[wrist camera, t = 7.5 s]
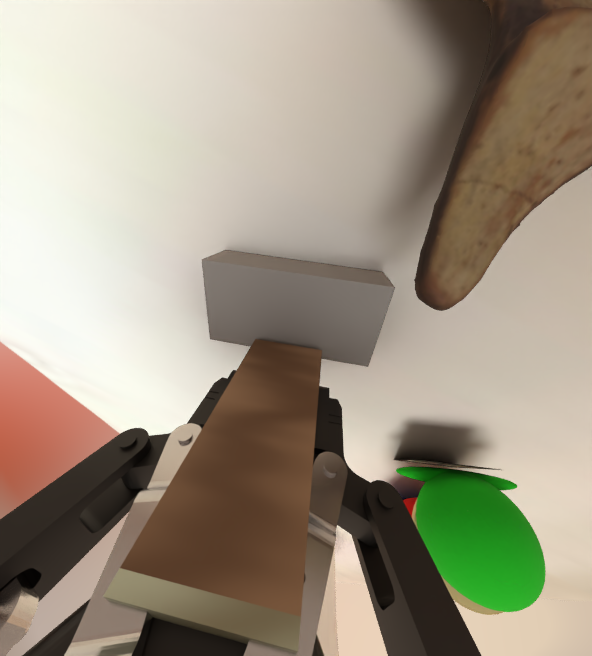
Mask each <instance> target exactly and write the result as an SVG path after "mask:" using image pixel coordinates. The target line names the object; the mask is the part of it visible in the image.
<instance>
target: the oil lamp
mask: <svg viewBox="0 0 592 656" xmlns="http://www.w3.org/2000/svg"><path fill="white" fill-rule="evenodd" d="M483 1H484V2H485V3H486V4H487V5H488V7H489V9H490V13H491V40H490V47H489V52H488V56H487V60H486V63H485V67H484V71H483V74H482V77H481V80H480V84H479V87H478V90H477V92H476V95H475V98H474V100H473V102H472V105H471V108H470V110H469V113H468V115H467V118H466V120H465V123H464V126H463V128H462V131H461V134H460V137H459V140H458V143H457V146H456V149H455V151H454V154H453V157H452V160H451V163H450V166H449V169H448V172H447V175H446V178H445V181H444V184H443V187H442V189H441V192H440V194H439V197H438V199H437V201H436V203H435V205H434V210H433V213H432V217H431V221H430V225H429V228H428V231H427V234H426V237H425V241H424V244H423V246H422V249H421V253H420V258H419V263H418V267H417V273H416V278H415V280H414V281H415V290H416V294H417V297H418V298H419V299H420V300H421V301H422V302H424V303H425V304H426V305H428V306H430V307H431V308H433V309H436V310H440V311H443V310H447V309H449V308H451V307H453V306H454V305H455V304H457V303H458V302H460V301H462V300H463V299H464V298H465V297H466V296H467V295H468V294H469V292H470V291H471V290H472V289H473V288H474V287H475V286H476V285H477V283H478V282H479V281H480V280H481V278H482V277H483V275H484V273H485V272H486V270H487V268H488V267H489V265H490V263H491V261H492V260H493V259H494V257H495V256H496V254H497V253H498V251H499V250H500V248H501V247H502V245H503V244H504V242H505V241H506V240H507V238H508V237H509V236H510V234H511V233H512V232H513V231H514V230H515V229H516V228H517V227H518V226H520V222H521V221H522V220H523V219H524V218H525V217H526V216H527V215H528V214H529V213H530V212H531V211H532V210H533V209H534V208H535V207H537V206H538V205H540V204H541V203H542V202H543V201H544V200H545V199H546V198H547V197H549V196H550V195H552V194H553V193H554V192H555V191H556V190H557V189H558V188H560V187H561V186H562V185H564V184H565V183H567V182H568V181H570V180H572V179H573V178H575V177H576V176H578V175H579V174H581V173H582V172H584V171H585V170H587V169H588V168H590V167H591V166H592V0H483Z"/></svg>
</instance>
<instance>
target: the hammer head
mask: <svg viewBox="0 0 592 656" xmlns="http://www.w3.org/2000/svg"><path fill="white" fill-rule="evenodd" d="M202 267H203V277H204V286H205V295H206V305H207V314H208V324H209V333H210V339H212V340H217V341H223V342H229V343H235V344H240V345H246V346H252V344H253V342H254V341H255V339H259V340H265V341H271V342H277V343H282V344H288V345H294V346H300V347H306V348H312V349H318V350H322V356H321V359H327V360H333V361H338V362H344V363H350V364H356V365H362V366H367V367H368V365H369V363H370V360H371V357H372V354H373V351H374V348H375V345H376V342H377V339H378V336H379V333H380V330H381V327H382V324H383V321H384V318H385V316H386V313H387V310H388V307H389V304H390V301H391V298H392V295H393V292H394V289H395V287H394V286H393V284H392V283H391V282H390V280H389V279H388V278H387V277H386V275H385V274H384V273H383V272H379V271H372V270H365V269H358V268H351V267H343V266H336V265H329V264H322V263H315V262H308V261H301V260H293V259H286V258H279V257H272V256H265V255H258V254H250V253H243V252H236V251H229V250H225V251H222V252H220V253H217V254H215V255H212V256H210V257H207V258H204V259H202Z"/></svg>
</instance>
